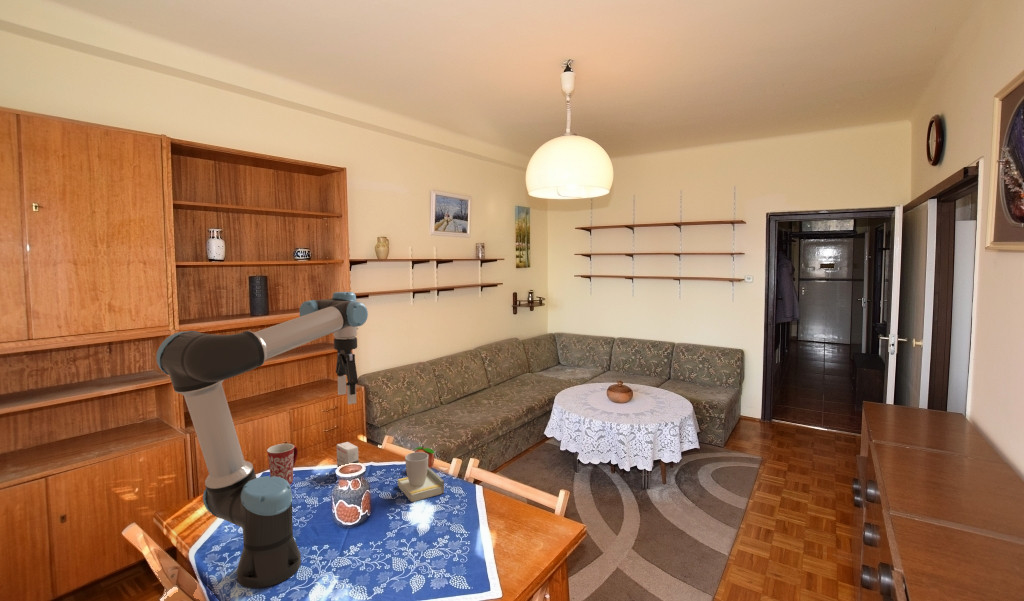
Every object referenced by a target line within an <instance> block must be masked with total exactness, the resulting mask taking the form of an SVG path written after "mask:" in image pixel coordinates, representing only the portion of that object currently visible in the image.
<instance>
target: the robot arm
mask: <svg viewBox="0 0 1024 601" xmlns="http://www.w3.org/2000/svg"><path fill="white" fill-rule="evenodd" d="M298 311H299V316H298V317H295V318H293V319H290V320H287V321H284V322H281V323H280V322H279V323H277V324H275V325H272V326H269V327H266V328H263V329H260V330H257V331H254V332H253V331H251V330H244V331H242V332H239V333H233V334H214V333H205V332H204V333H203V332H199V331H197V330H196V331H195V330H189V331H179V332H175V333H173V334H171V335H169V336H168V337H166V338H165V339H164V340H163V341H162V343H161V344H160V345H159V347H158V349H157V351H156V361H155V362H156V364H157V366H158V368H159V369H160V370H161V372H163V373H164V374H165V375H168V377H169V379H170V382H171V384H172V388H173V390H174V392H175V393H177V394H180V395H183V397H184V401H185V403H186V407H187V410H188V412H189V415H190V419H191V421H192V425H193V427H194V432H195V435H196V436H197V440H198V443H199V444H198V445H199V446H200V449H201V453H202V456H203V459H204V462H205V465H206V469H207V472H208V475H207V477H206V478H205V480H204V486H205V490H203V493H202V494H203V495H202V502H203V505H204V507H205V509H206V510H207V511H208V512H209V513H210V514H211V515H213V516H214V517H216V518H219V519H220V520H221V519H222V520H223V521H227V522H229V523H231V524H233V525H235V526H238V527H240V528H242V538H243V540H242V541H243V549H242V551H241V555H240V558H239V561H238V564H237V568H236V579H237V583H238V584H239V585H240V586H242V587H244V588H248V589H260V588H267V587H272V586H274V585H277V584H280V583H282V582H284V581H287V579H289V578H291V577H293V576H294V574H296V573H297V571H298V570H299V569H300V567H301V564H302V560H301V559H302V555H301V551H300V549H299V547H298V544H297V543H296V539H295V538H294V534H293V533H294V532H293V531H294V528H293V493H292V487H291V484H289V483H288V481H286V480H285V479H283V478H281V477H276V476H273V477H270V475H266V476H265V475H264V476H260V477H257V475H256V472H255V469H254V465H253V463H252V462H251V461H247V460H245V458H244V457H245V456H244V453H243V452H242V451H243V450H242V447H241V445H240V441H239V438H238V434H237V430H236V427H235V424H234V420H233V416H232V413H231V409H230V407H229V403H228V400H227V396H226V393H225V390H224V386H223V382H224V381H226V380H229V379H231V378H235V377H237V376H239V375H243V374H245V373H247V372H250V371H252V370H255V369H256V368H259V367H262V366H263V365H264V364H265V363H266V360H268V359H270V358H273V357H276V356H278V355H281V354H284V353H286V352H288V351H291V350H293V349H296V348H298V347H301V346H303V345H306V344H308V343H310V342H313V341H316V340H317V339H320V338H323V337H325V336H328V335H330V334H332V333H333V337H334V339H333V349H334V350H336V351H337V357H336V366H335V373H336V376H337V395H338V396H340V395H341V396H342V395H347V405H353V404H357V401H358V400H357V384H359V378H358V373H357V372H358V371H357V366H356V355H355V353H352V350H356V349H357V348H358V338H357V335H358V331H357V330H359V327H361V326H363V325H365V323H366V322H367V320H368V317H369V314H368V313H369V312H368V308H367V307H366V305H365V304H364V303H362V302H360V301H357V295H356V294H355V292H354V291H335V292H333V293H332V297H331V298H329V299H327V298H326V299H311V300H306V301H304V302H302V303H301V305H300V306H299V310H298Z"/></svg>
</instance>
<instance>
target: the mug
mask: <svg viewBox="0 0 1024 601" xmlns="http://www.w3.org/2000/svg"><path fill="white" fill-rule="evenodd" d="M298 451H299V450H298V447H297V446H296V445H294V444H292V443H279V444H275V445H272V446H270V447H268V448H267V449H266V452H267V458H268V466H269V477H273V476H276V477H281V478H283V479H285V480H286V481H288V483H289V484H290V485H291V484H292V483H293V482H294V467H295V465H296V462H297V459H298V453H299V452H298Z"/></svg>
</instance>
